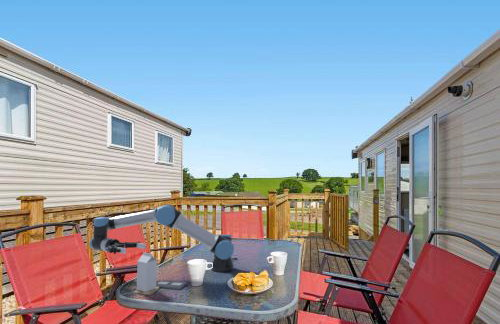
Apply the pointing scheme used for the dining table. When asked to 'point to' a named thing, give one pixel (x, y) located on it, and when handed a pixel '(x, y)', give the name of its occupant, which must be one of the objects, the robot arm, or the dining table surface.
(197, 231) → the robot arm
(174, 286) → the label panel
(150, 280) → the milk carton
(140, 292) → the coaster
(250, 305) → the dining table surface
